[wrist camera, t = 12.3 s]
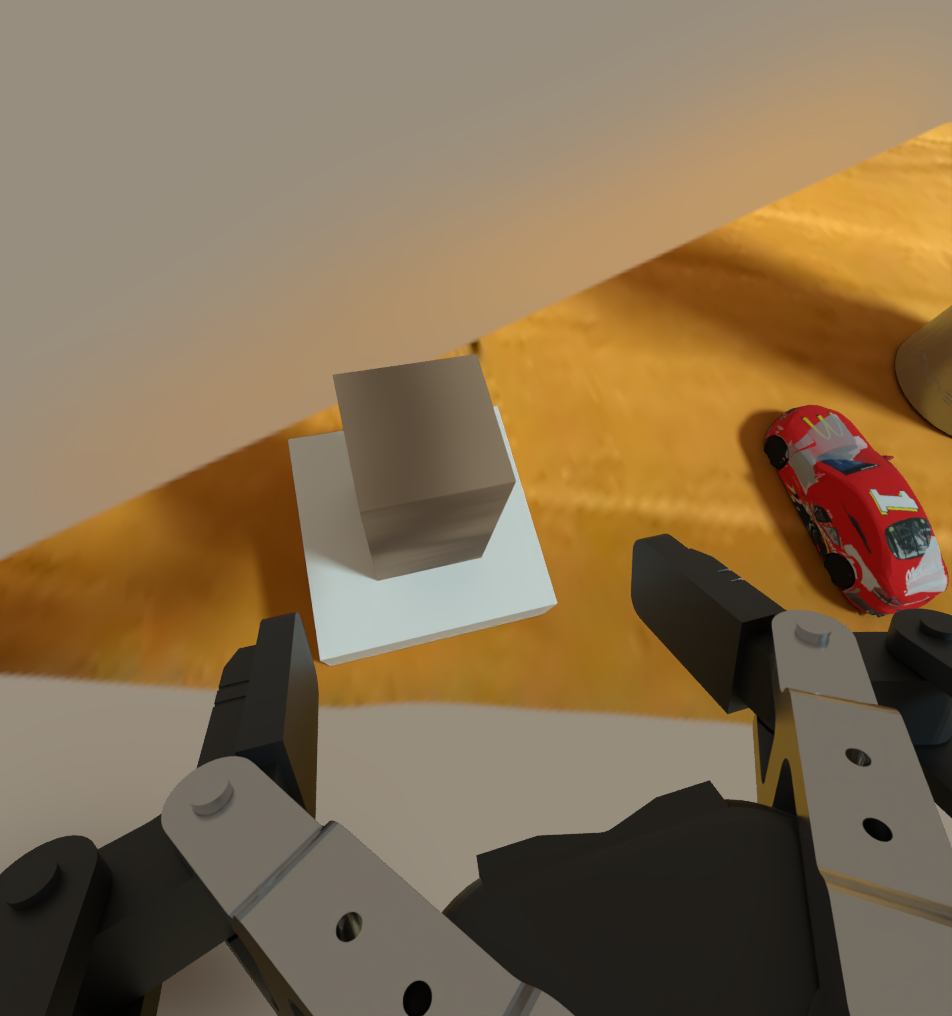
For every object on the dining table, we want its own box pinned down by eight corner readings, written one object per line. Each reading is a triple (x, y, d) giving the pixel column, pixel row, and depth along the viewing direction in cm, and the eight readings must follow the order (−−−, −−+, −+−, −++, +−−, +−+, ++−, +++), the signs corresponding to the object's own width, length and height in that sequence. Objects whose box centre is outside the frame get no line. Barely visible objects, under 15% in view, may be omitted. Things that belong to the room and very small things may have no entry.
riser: (489, 433, 31) (497, 405, 28) (542, 614, 27) (557, 603, 25) (299, 465, 29) (287, 439, 26) (330, 666, 25) (320, 660, 23)
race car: (745, 426, 34) (786, 390, 30) (815, 412, 35) (863, 377, 31) (844, 626, 29) (907, 613, 26) (921, 604, 31) (991, 588, 27)
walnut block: (456, 465, 27) (476, 354, 18) (481, 557, 25) (516, 481, 17) (358, 483, 26) (332, 375, 17) (377, 580, 24) (359, 512, 16)
